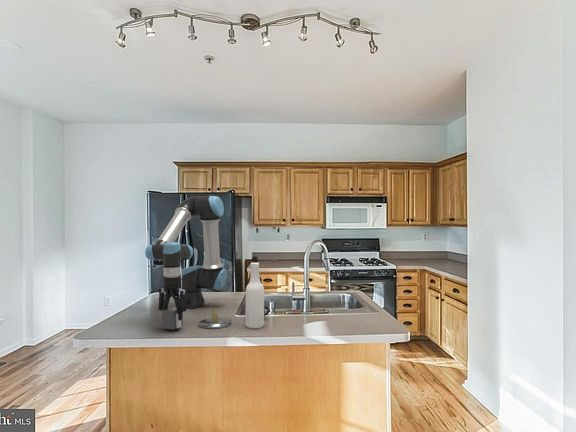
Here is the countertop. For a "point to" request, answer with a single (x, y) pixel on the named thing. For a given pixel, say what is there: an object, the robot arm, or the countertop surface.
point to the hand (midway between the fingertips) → (172, 326)
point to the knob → (170, 318)
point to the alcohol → (254, 299)
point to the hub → (214, 322)
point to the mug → (264, 310)
